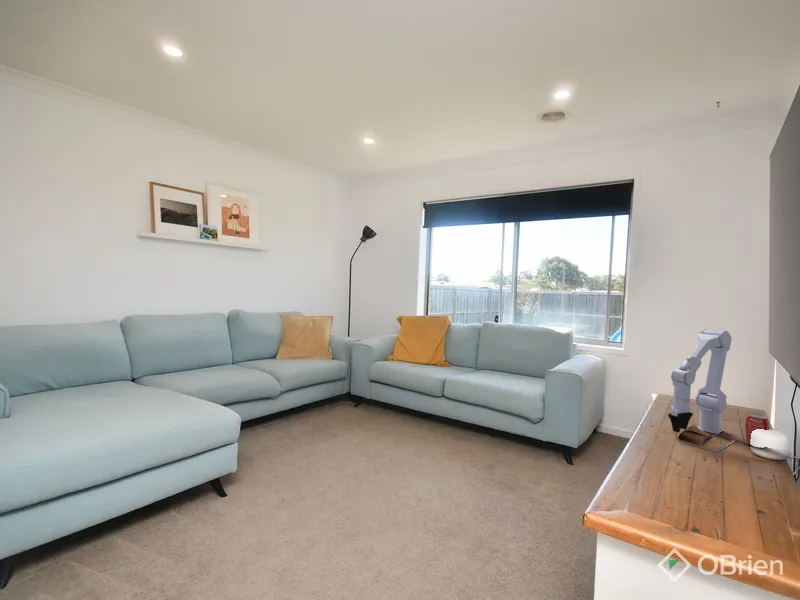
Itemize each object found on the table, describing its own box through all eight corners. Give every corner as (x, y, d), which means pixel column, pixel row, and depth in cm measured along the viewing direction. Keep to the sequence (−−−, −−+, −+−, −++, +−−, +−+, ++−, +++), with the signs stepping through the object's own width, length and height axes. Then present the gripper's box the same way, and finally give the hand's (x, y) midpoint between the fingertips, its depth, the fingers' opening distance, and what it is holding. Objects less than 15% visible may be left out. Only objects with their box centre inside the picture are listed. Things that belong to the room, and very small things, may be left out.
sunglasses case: (704, 446, 156) (694, 429, 158) (685, 450, 160) (675, 433, 163) (713, 436, 168) (704, 420, 171) (695, 440, 173) (686, 425, 175)
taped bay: (700, 431, 174) (700, 431, 174) (736, 441, 164) (736, 440, 164) (678, 442, 159) (678, 441, 159) (717, 453, 149) (717, 452, 149)
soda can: (758, 443, 162) (760, 413, 162) (773, 450, 155) (775, 419, 155) (739, 442, 163) (741, 412, 162) (753, 448, 156) (755, 418, 155)
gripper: (677, 394, 177) (675, 424, 177) (663, 397, 168) (662, 430, 168) (696, 397, 171) (694, 429, 171) (683, 402, 162) (681, 435, 162)
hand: (679, 430), depth 169 cm, fingers open, 7 cm apart
